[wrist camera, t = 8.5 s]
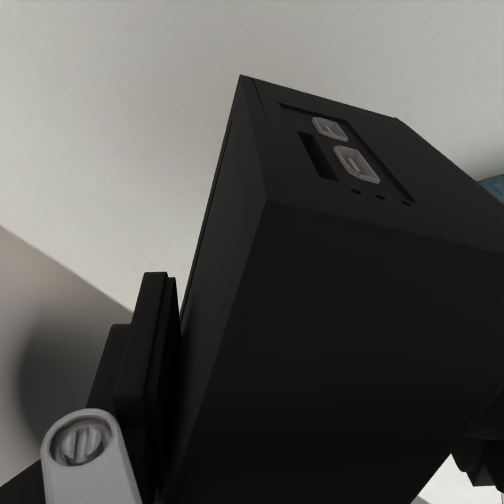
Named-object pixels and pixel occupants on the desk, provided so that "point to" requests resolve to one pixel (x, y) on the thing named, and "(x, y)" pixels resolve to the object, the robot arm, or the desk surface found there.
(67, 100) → the desk surface
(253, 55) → the desk surface
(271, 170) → the digital camera
